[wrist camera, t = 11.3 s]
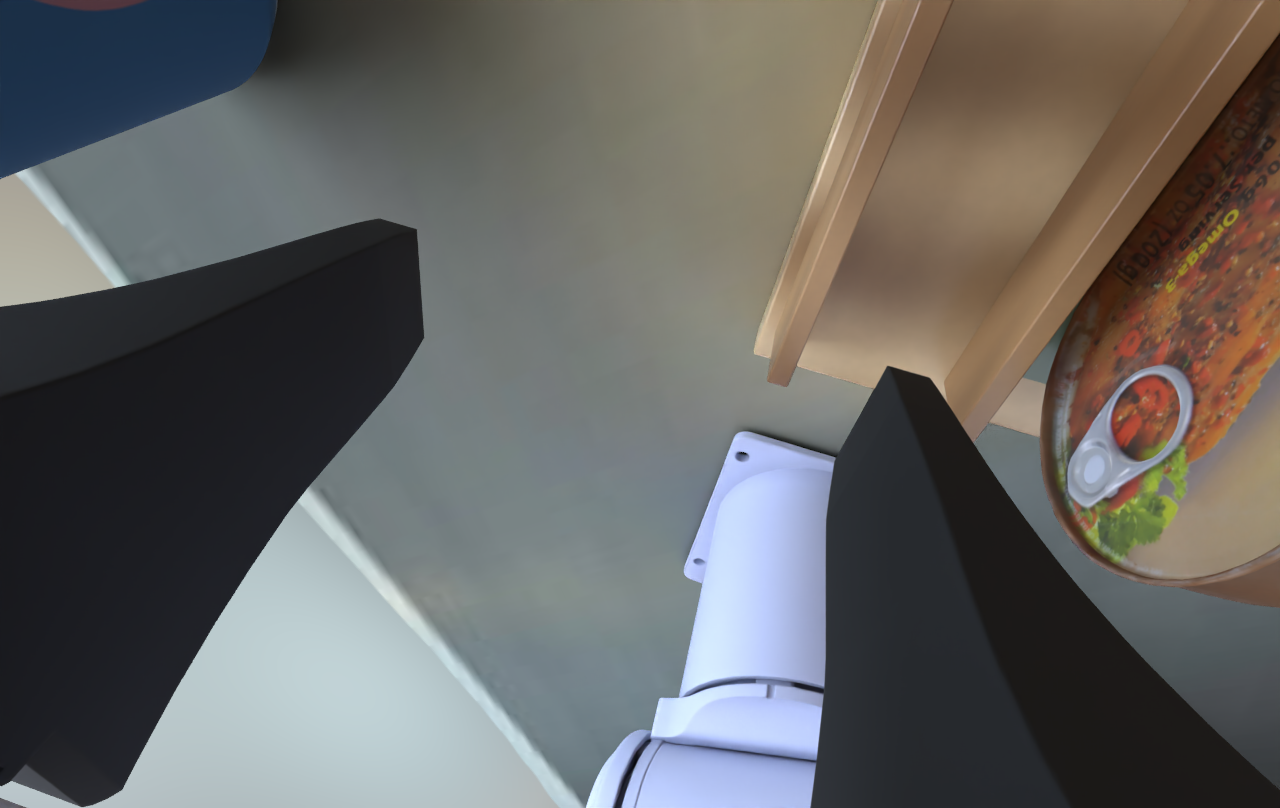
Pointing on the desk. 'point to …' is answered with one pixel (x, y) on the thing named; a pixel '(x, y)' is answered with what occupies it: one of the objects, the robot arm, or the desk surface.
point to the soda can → (115, 66)
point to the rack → (994, 184)
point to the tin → (1182, 375)
